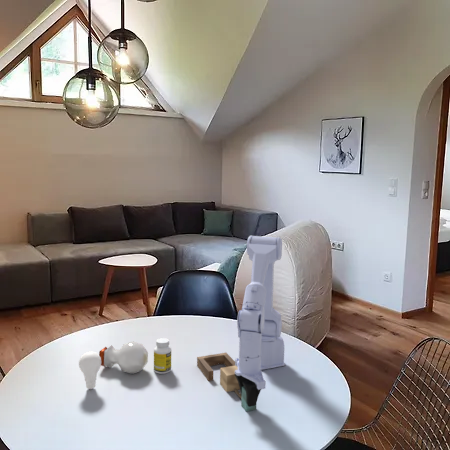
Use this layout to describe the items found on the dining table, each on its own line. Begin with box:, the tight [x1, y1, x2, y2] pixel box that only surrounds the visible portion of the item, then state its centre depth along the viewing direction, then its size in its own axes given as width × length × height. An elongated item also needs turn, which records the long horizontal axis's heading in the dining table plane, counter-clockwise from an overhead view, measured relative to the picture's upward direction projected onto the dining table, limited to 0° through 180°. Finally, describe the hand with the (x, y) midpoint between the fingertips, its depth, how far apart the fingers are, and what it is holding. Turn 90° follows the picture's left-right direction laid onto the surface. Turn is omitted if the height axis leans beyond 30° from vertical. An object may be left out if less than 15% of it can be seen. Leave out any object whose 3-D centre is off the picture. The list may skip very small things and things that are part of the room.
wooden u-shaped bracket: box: [196, 352, 235, 382], centre depth 142 cm, size 10×10×3 cm
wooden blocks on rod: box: [219, 365, 257, 412], centre depth 127 cm, size 5×16×6 cm, turn 22°
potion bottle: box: [98, 341, 149, 375], centre depth 141 cm, size 9×10×15 cm
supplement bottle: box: [153, 337, 172, 375], centre depth 141 cm, size 5×5×10 cm
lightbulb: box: [78, 351, 102, 390], centre depth 129 cm, size 6×6×11 cm
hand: (248, 401), depth 121 cm, fingers closed on wooden blocks on rod, 3 cm apart
